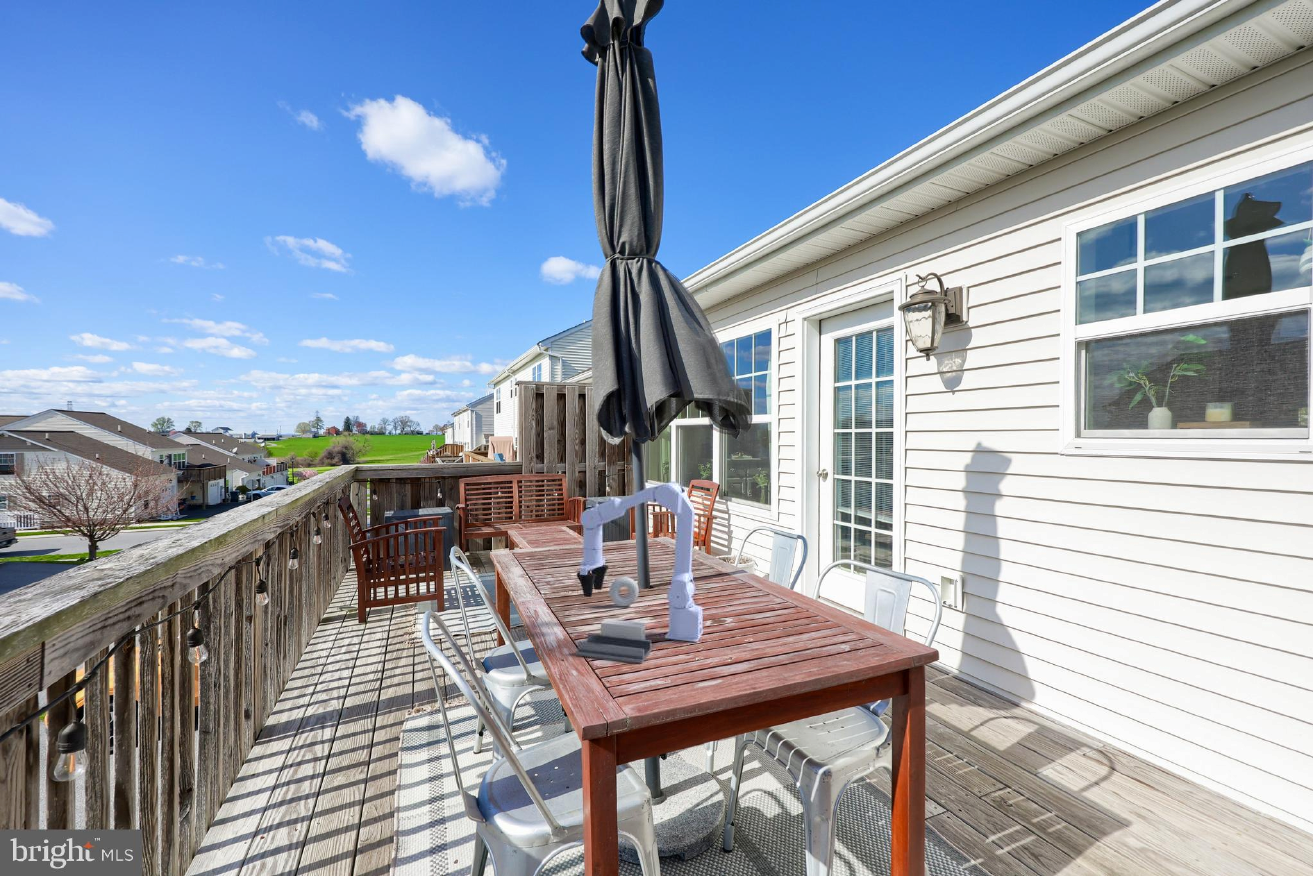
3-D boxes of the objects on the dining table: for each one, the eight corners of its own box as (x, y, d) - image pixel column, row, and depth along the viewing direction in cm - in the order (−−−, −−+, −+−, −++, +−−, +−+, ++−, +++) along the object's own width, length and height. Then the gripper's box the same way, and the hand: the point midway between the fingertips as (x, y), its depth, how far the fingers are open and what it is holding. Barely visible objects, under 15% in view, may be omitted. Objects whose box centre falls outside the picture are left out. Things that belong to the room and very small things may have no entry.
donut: (609, 608, 179) (609, 578, 179) (608, 605, 183) (608, 576, 183) (639, 607, 181) (639, 577, 181) (638, 604, 184) (638, 574, 184)
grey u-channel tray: (652, 650, 145) (652, 638, 145) (641, 663, 136) (641, 651, 136) (590, 642, 150) (590, 631, 150) (576, 655, 141) (576, 643, 141)
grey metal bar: (645, 640, 152) (645, 623, 152) (641, 645, 149) (641, 627, 148) (605, 636, 155) (605, 618, 155) (600, 640, 152) (600, 622, 152)
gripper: (590, 542, 171) (590, 585, 171) (570, 552, 157) (570, 598, 157) (611, 543, 169) (611, 587, 169) (592, 553, 155) (592, 600, 155)
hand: (593, 593), depth 163 cm, fingers open, 7 cm apart
